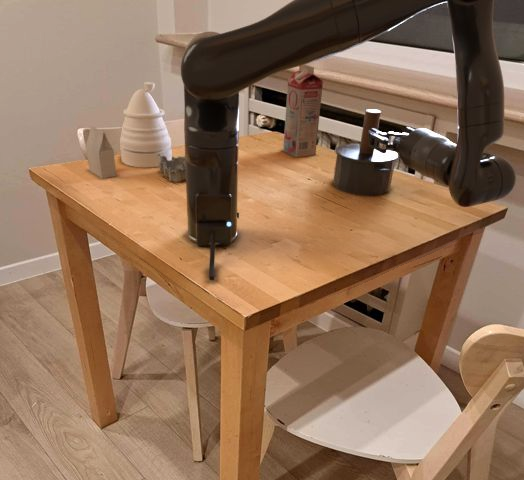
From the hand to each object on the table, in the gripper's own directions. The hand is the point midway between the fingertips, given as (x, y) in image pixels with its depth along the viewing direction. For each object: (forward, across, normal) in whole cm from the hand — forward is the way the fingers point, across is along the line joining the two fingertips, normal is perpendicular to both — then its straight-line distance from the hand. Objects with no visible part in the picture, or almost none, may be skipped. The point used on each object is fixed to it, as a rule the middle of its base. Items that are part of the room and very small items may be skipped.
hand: (388, 132), depth 114 cm
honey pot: (+36, +48, +14) cm, 62 cm away
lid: (+8, 0, +7) cm, 10 cm away
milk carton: (+37, +5, +14) cm, 40 cm away
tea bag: (+27, +60, +14) cm, 67 cm away
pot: (+8, 0, +14) cm, 16 cm away
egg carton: (+23, +42, +14) cm, 50 cm away
